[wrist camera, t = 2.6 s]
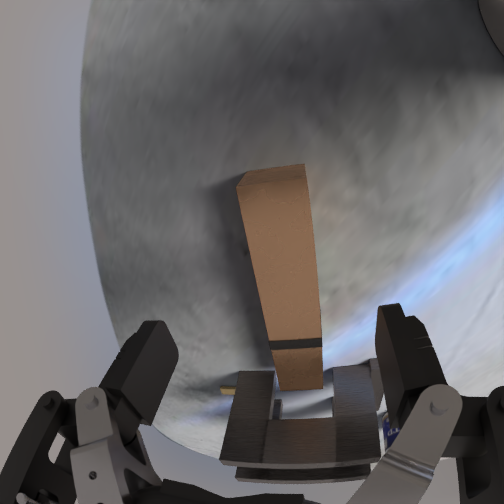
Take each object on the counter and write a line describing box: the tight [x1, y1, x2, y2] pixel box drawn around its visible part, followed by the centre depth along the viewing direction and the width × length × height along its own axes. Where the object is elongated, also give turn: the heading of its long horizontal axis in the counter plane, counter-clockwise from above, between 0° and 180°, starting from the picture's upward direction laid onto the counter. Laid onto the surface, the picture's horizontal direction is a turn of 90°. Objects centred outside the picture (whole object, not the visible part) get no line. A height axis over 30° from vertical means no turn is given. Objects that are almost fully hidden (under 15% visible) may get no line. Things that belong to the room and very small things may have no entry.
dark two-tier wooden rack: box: [219, 358, 384, 484], centre depth 26 cm, size 9×19×11 cm, turn 101°
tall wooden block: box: [236, 164, 323, 391], centre depth 22 cm, size 19×4×4 cm, turn 11°
